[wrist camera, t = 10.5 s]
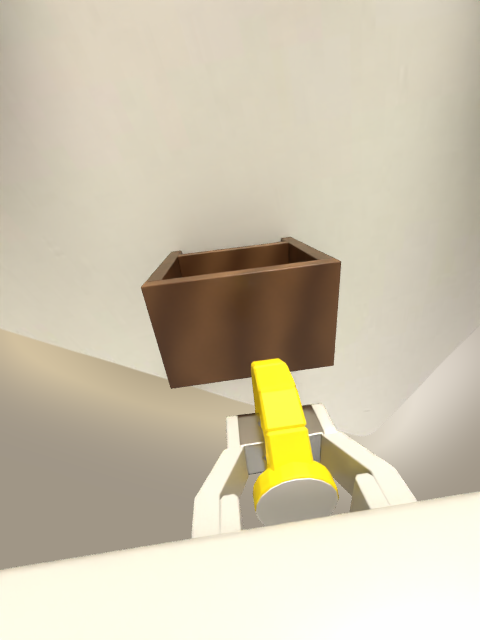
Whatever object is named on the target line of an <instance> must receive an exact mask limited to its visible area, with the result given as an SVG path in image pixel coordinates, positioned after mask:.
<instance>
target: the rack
mask: <svg viewBox="0 0 480 640" xmlns="http://www.w3.org/2000/svg"><path fill="white" fill-rule="evenodd" d="M340 270H341V261H339V260H337V259H335V258H333V257H331V256H329V255H327V254H325V253H322V252H320V251H318V250H316V249H314V248H312V247H310V246H308V245H306V244H304V243H302V242H300V241H298V240H296V239H294V238H292V237H286V238H281V242H277V243H269V244H261V245H253V246H245V247H237V248H229V249H221V250H213V251H205V252H197V253H189V254H182V251H174V252H171V253H170V254H169V255H168V256H167V258H166V259H165V260H164V261H163V262H162V263H161V265H160V266H159V267H158V268H157V269H156V270H155V272H154V273H153V274H152V275H151V276H150V277H149V279H148V280H147V281H146V282H145V283H144V284H143V285H142V287H141V289H142V293H143V296H144V300H145V303H146V306H147V310H148V313H149V316H150V320H151V323H152V327H153V330H154V333H155V337H156V340H157V343H158V347H159V350H160V354H161V357H162V360H163V364H164V367H165V370H166V374H167V377H168V381H169V384H170V387H171V389H172V388H179V387H186V386H193V385H200V384H207V383H214V382H221V381H228V380H235V379H242V378H249V377H252V376H251V363H252V362H254V361H262V360H269V359H276V358H279V359H280V360H282V361H283V362H284V363H286V365H287V366H288V368H289V371H290V372H291V371H298V370H305V369H312V368H319V367H326V366H333V365H334V352H335V339H336V325H337V311H338V297H339V284H340Z"/></svg>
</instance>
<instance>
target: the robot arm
mask: <svg viewBox="0 0 480 640" xmlns="http://www.w3.org/2000/svg"><path fill="white" fill-rule="evenodd" d="M302 409H303V413H304V416H305V420H306V425H305V427H306V428H307V429H308V433H309V439H310V445H311V451H312V456H313V461H316V462H318V463H320V464H322V465H323V466H325V467H326V468H327V469H328V471H329V472H330V473H331V475H332V477H333V478H334V479H335V480H336V481H337V482H338V483H339V484H340V485H341V486H342V487H343V488H344V489H345V490H346V491H347V492H348V493H350V494H351V496H352V501H351V507H350V513H345V514H338V515H332V516H326V517H320V518H313V519H307V520H301V521H295V522H289V523H283V524H277V525H271V526H265V527H259V528H253V529H247V530H244V525H243V520H242V515H241V509H240V504H239V499H240V496H241V494H242V491H243V489H244V486H245V484H246V481H247V479H248V475H250V474H256V473H261V472H264V471H265V470H266V469H267V460H266V455H265V454H266V448H265V441H264V435H263V430H262V428H261V421H260V416H259V413H252V414H244V415H237V416H238V417H237V416H229V417H226V432H227V449H224V450H223V452H222V454H221V455H220V457H219V459H218V460H217V462H216V464H215V465H214V467H213V469H212V470H211V472H210V474H209V475H208V477H207V479H206V481H205V482H204V484H203V486H202V487H201V489H200V491H199V492H198V494H197V496H196V497H195V500H194V513H193V525H192V539H186V540H180V541H173V542H167V543H162V544H155V545H149V546H143V547H137V548H131V549H124V550H119V551H112V552H106V553H100V554H94V555H87V556H81V557H75V558H69V559H63V560H57V561H51V562H44V563H38V564H32V565H26V566H20V567H14V568H8V569H2V570H0V640H480V491H479V492H472V493H466V494H460V495H454V496H448V497H442V498H436V499H430V500H424V501H418V502H417V500H416V499H415V497H414V496H413V494H412V493H411V491H410V490H409V488H408V487H407V485H406V484H405V482H404V481H403V479H402V478H401V476H400V475H399V473H398V472H397V470H396V469H395V468H394V467H393V466H391V465H390V464H388V463H387V462H386V461H384V460H382V459H381V458H379V457H378V456H377V455H375V454H374V453H372V452H370V451H369V450H368V449H366V448H365V447H363V446H362V445H360V444H358V443H357V442H356V441H354V440H353V439H351V438H350V437H348V436H347V435H345V434H344V433H342V432H338V431H337V430H336V428H335V426H334V424H333V422H332V420H331V418H330V416H329V415H328V413H327V411H326V409H325V407H324V405H323V404H322V403H317V404H311V405H304V406H302Z"/></svg>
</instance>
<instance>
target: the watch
mask: <svg viewBox="0 0 480 640" xmlns="http://www.w3.org/2000/svg"><path fill="white" fill-rule="evenodd" d="M251 376H252V385H253V393H254V402H255V413H259V416H260V421H261V428H262V430H263V435H264V441H265V448H266V454H265V455H266V460H267V469H266V470H265V471H264V472H263V473H262V474H261V475H260V476H259V477H258V479H257V480H256V482H255V484H254V488H253V498H254V506H255V511H256V514H257V517H258V519H259V521H260V522H262V523H263V524H264V525H265V526H271V525H277V524H283V523H289V522H295V521H301V520H307V519H313V518H320V517H326V516H330V514H331V513H332V512H333V511H334V509H335V508H336V505H337V502H338V499H339V495H338V490H337V487H336V485H335V482H334V480H333V478H332V475H331V473H330V472H329V471H328V469H327V468H326V467H325V466H323V465H322V464H320V463H318V462H316V461H313V456H312V451H311V445H310V439H309V433H308V429H307V428H306V427H305V425H306V420H305V416H304V413H303V409H302V405H301V402H300V398H299V395H298V391H297V389H296V385H295V382H294V380H293V378H292V375H291V373H290V371H289V368H288V366H287V365H286V363H284V362H283V361H282V360H280V359H279V358H276V359H269V360H262V361H254V362H252V363H251Z"/></svg>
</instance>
